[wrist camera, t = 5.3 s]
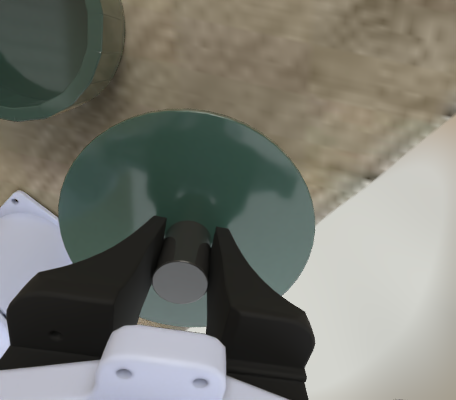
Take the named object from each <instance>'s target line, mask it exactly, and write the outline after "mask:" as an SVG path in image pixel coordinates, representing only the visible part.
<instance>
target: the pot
mask: <svg viewBox="0 0 456 400" xmlns="http://www.w3.org/2000/svg"><path fill="white" fill-rule="evenodd" d="M124 38H125V21H124V14H123V7H122V3H121V0H0V119H4V120H9V121H14V122H20V121H30V120H40V119H47V118H50V117H52V116H55V115H58V114H60V113H63V112H66V111H69V110H71V109H74V108H76V107H78V106H80V105H82V104H84V103H86V102H88V101H90V100H92V99H94V98H95V97H96V96H97V95H98V94H100V93H101V92H102V91H103V90H104V89H105V88H106V86H107V85H108V84H109V82H110V81H111V80H112V78H113V76H114V74H115V73H116V71H117V68H118V66H119V63H120V60H121V57H122V52H123V48H124Z"/></svg>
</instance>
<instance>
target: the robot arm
mask: <svg viewBox="0 0 456 400" xmlns="http://www.w3.org/2000/svg"><path fill="white" fill-rule="evenodd" d="M15 199H17V200H18V202H16V201H15ZM166 221H167V218H165V217H160V216H153V217H151V218H150V219H149V220H148V221H147V222H146V223H145V224H144V225H142V226H141V227H140V228H139V229H138V230H136V231H135V232H134V233H132V234H131V235H130V236H128V237H127V238H125V239H124V240H122V241H121V242H120V243H118V244H116V245H115V246H113V247H111V248H109V249H108V250H106V251H104V252H101V253H99V254H97V255H94V256H92V257H90V258H87V259H85V260H82V261H79V262H76V263H72V262H71V260H70V258H69V255H68V253H67V251H66V249H65V247H64V243H63V240H62V237H61V233H60V227H59V221H58V217H57V216H55V215H54V214H53V213H51V212H50V211H49V210H47V209H46V208H45V207H43V206H42V205H41V204H39V203H38V202H37V201H35V200H34V199H33V198H32V197H30V196H29V195H28V194H26V193H25V192H23V191H20V190H18V191H16V192H14V193H13V194H12V195H11V196H10V197H9V199H8V200H7V201H6V202H5V203H4V204H3V205H2V206H1V207H0V400H308V396H307V392H306V388H305V384H304V382H306V379H307V376H306V373H305V369H304V368H305V365H306V364H307V362H308V360H309V358H310V355H311V353H312V351H313V349H314V346H315V337H314V334H313V331H312V328H311V325H310V322H309V321H308V318H307V316H306V313H305V312H304V311H302V310H301V309H300V308H298V307H296V306H295V305H293V304H292V303H290V302H288V301H287V300H286V299H284V298H283V297H282V296H281V295H279V294H278V293H277V292H275V291H274V290H273V289H272V288H271V287H270V286H269V285H268V284H267V283H265V282H264V281H263V280H262V279H261V278H260V276H259V275H258V274H257V273H256V272H255V271H254V270H253V268H252V267H251V266H250V265H249V263H248V262H247V260H246V259H245V257H244V256H243V254H242V253H241V251H240V249H239V248H238V246H237V244H236V242H235V240H234V238H233V236H232V234H231V232H230V230H229V229H228V228H222V227H217V226H216V229H215V234H214V238H213V243H212V247H211V258H210V274H209V286H208V290H207V327H206V334H203V333H196V332H189V331H182V330H175V329H167V328H160V327H153V326H145V325H137V322H138V318H139V315H140V312H141V309H142V307H143V304H144V302H145V299H146V297H147V294H148V292H149V289H150V287H151V285H152V275H153V272H154V269H155V266H156V262H157V259H158V256H159V253H160V250H161V247H162V244H163V241H164V235H165V228H166ZM396 400H400V399H396Z"/></svg>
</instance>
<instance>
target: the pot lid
mask: <svg viewBox="0 0 456 400" xmlns="http://www.w3.org/2000/svg"><path fill="white" fill-rule="evenodd" d="M153 216H160V217H165V218H167V221H166V228H165V235H164V241H163V244H162V247H161V250H160V253H159V256H158V259H157V262H156V266H155V269H154V272H153V275H152V285H151V287H150V289H149V292H148V294H147V297H146V299H145V302H144V304H143V307H142V309H141V312H140V315H139V317H140V318H143V319H146V320H149V321H153V322H156V323H160V324H165V325H171V326H180V327H207V290H208V286H209V274H210V258H211V247H212V243H213V238H214V234H215V229H216V226H217V227H222V228H228V229H229V230H230V232H231V234H232V236H233V238H234V240H235V242H236V244H237V246H238V248H239V249H240V251H241V253H242V254H243V256H244V257H245V259H246V260H247V262H248V263H249V265H250V266H251V267H252V268H253V270H254V271H255V272H256V273H257V274H258V275H259V276H260V278H261V279H262V280H263V281H264V282H265V283H267V284H268V285H269V286H270V287H271V288H272V289H273V290H274V291H275V292H277V293H278V294H279V295H281V296H282V295H283V294H284V293H285V292H287V291H288V290H289V288H290V287H291V286H292V285H293V284H294V283H295V281H296V280H297V279H298V277H299V276H300V274H301V272H302V271H303V269H304V267H305V265H306V263H307V260H308V259H309V256H310V252H311V249H312V246H313V241H314V234H315V214H314V208H313V203H312V199H311V196H310V193H309V190H308V187H307V185H306V183H305V181H304V180H303V178H302V176H301V174H300V172H299V170H298V169H297V167H296V166H295V165H294V163H293V162H292V160H291V159H290V158H289V156H288V155H287V154H286V153H285V152H284V151H283V150H282V149H281V148H280V147H279V146H278V145H277V144H276V143H275V142H273V141H272V140H271V139H269V138H268V137H267V136H266V135H264V134H263V133H262V132H260V131H258V130H256V129H255V128H253V127H251V126H249V125H248V124H246V123H244V122H241V121H239V120H236V119H234V118H231V117H229V116H226V115H222V114H218V113H214V112H210V111H204V110H196V109H165V110H158V111H151V112H147V113H144V114H140V115H137V116H134V117H131V118H128V119H126V120H124V121H122V122H120V123H118V124H116V125H114V126H112V127H111V128H109V129H108V130H106V131H105V132H103V133H102V134H100V135H99V136H97V137H96V138H95V139H94V140H93V141H92V142H91V143H89V144H88V145H87V146H86V147H85V148H84V149H83V150H82V152H81V153H80V154H79V155H78V157H77V158H76V159H75V161H74V162H73V164H72V165H71V167H70V169H69V171H68V173H67V175H66V177H65V180H64V183H63V186H62V189H61V193H60V199H59V205H58V221H59V227H60V233H61V237H62V240H63V243H64V247H65V249H66V251H67V253H68V255H69V258H70V260H71V262H72V263H76V262H79V261H82V260H85V259H87V258H90V257H92V256H94V255H97V254H99V253H101V252H104V251H106V250H108V249H109V248H111V247H113V246H115V245H116V244H118V243H120V242H121V241H122V240H124V239H125V238H127V237H128V236H130V235H131V234H132V233H134V232H135V231H136V230H138V229H139V228H140V227H141V226H142V225H144V224H145V223H146V222H147V221H148V220H149V219H150V218H151V217H153Z"/></svg>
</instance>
